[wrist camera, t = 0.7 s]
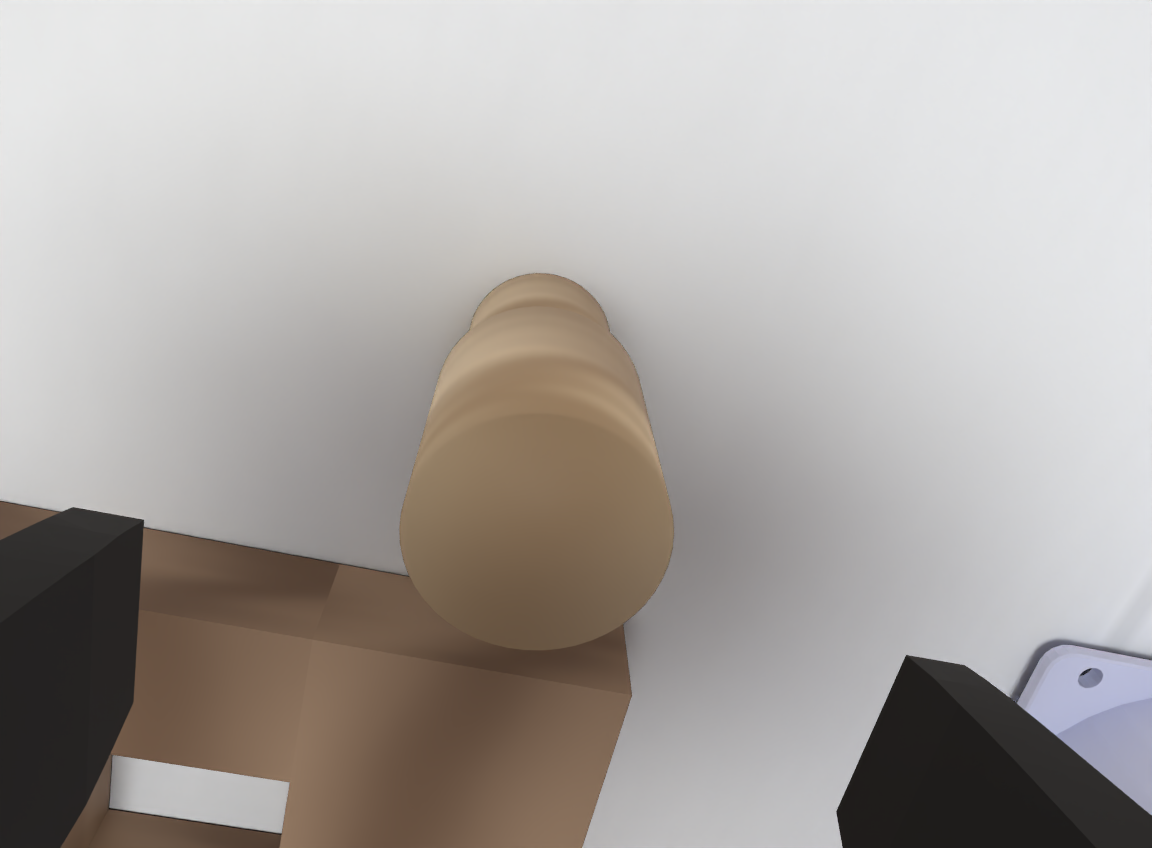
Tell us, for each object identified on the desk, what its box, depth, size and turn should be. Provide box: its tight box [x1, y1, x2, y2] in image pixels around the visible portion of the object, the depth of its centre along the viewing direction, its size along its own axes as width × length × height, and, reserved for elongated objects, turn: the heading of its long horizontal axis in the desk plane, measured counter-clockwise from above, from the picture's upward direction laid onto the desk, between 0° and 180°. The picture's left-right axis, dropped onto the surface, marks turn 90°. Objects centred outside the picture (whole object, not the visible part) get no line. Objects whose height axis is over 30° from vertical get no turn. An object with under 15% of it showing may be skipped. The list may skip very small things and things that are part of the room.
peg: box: [399, 273, 674, 650], centre depth 14 cm, size 3×3×7 cm
